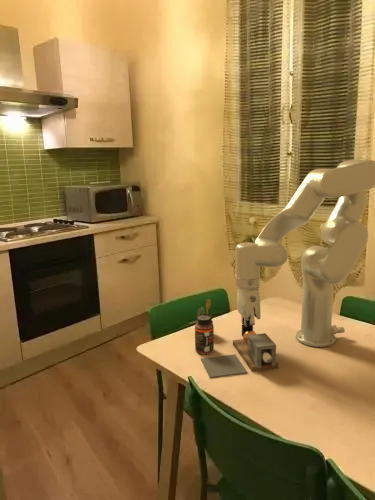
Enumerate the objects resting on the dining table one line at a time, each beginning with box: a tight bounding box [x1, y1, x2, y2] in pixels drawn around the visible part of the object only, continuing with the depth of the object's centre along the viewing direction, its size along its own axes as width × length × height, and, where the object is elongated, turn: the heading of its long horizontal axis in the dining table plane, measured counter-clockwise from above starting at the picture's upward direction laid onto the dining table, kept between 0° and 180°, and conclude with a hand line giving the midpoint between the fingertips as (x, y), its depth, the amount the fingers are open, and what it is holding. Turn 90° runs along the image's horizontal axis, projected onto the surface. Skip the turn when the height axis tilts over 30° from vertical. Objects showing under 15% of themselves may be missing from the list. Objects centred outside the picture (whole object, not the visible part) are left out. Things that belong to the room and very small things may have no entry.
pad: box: [200, 354, 248, 379], centre depth 116 cm, size 11×11×1 cm
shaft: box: [242, 330, 272, 363], centre depth 118 cm, size 15×4×4 cm, turn 11°
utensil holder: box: [195, 298, 214, 325], centre depth 137 cm, size 6×6×12 cm
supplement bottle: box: [194, 315, 215, 355], centre depth 125 cm, size 6×6×11 cm
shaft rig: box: [232, 332, 279, 373], centre depth 121 cm, size 19×8×8 cm, turn 11°
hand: (247, 336), depth 127 cm, fingers closed
